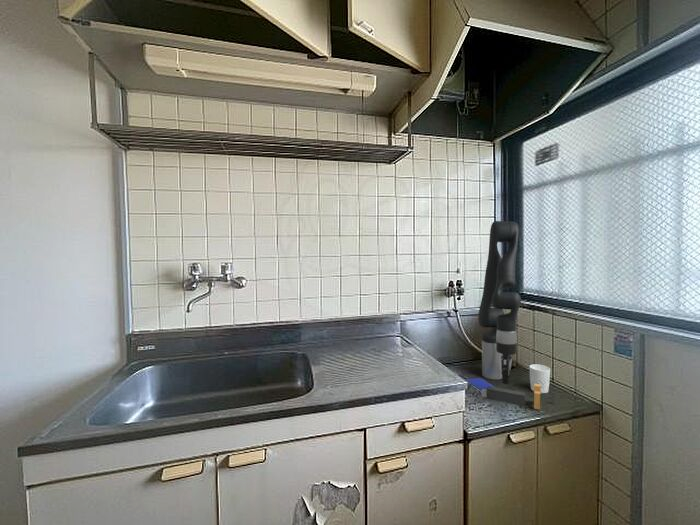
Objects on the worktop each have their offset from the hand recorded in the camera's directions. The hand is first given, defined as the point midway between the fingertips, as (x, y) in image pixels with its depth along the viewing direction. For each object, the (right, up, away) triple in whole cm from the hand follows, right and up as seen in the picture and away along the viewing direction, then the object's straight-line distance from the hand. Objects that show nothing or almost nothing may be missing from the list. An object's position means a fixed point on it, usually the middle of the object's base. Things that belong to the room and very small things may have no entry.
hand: (506, 380), depth 136 cm
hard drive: (-4, -9, +15) cm, 18 cm away
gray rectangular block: (0, -9, +1) cm, 9 cm away
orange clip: (+10, -9, -5) cm, 14 cm away
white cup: (+19, -8, +9) cm, 22 cm away
